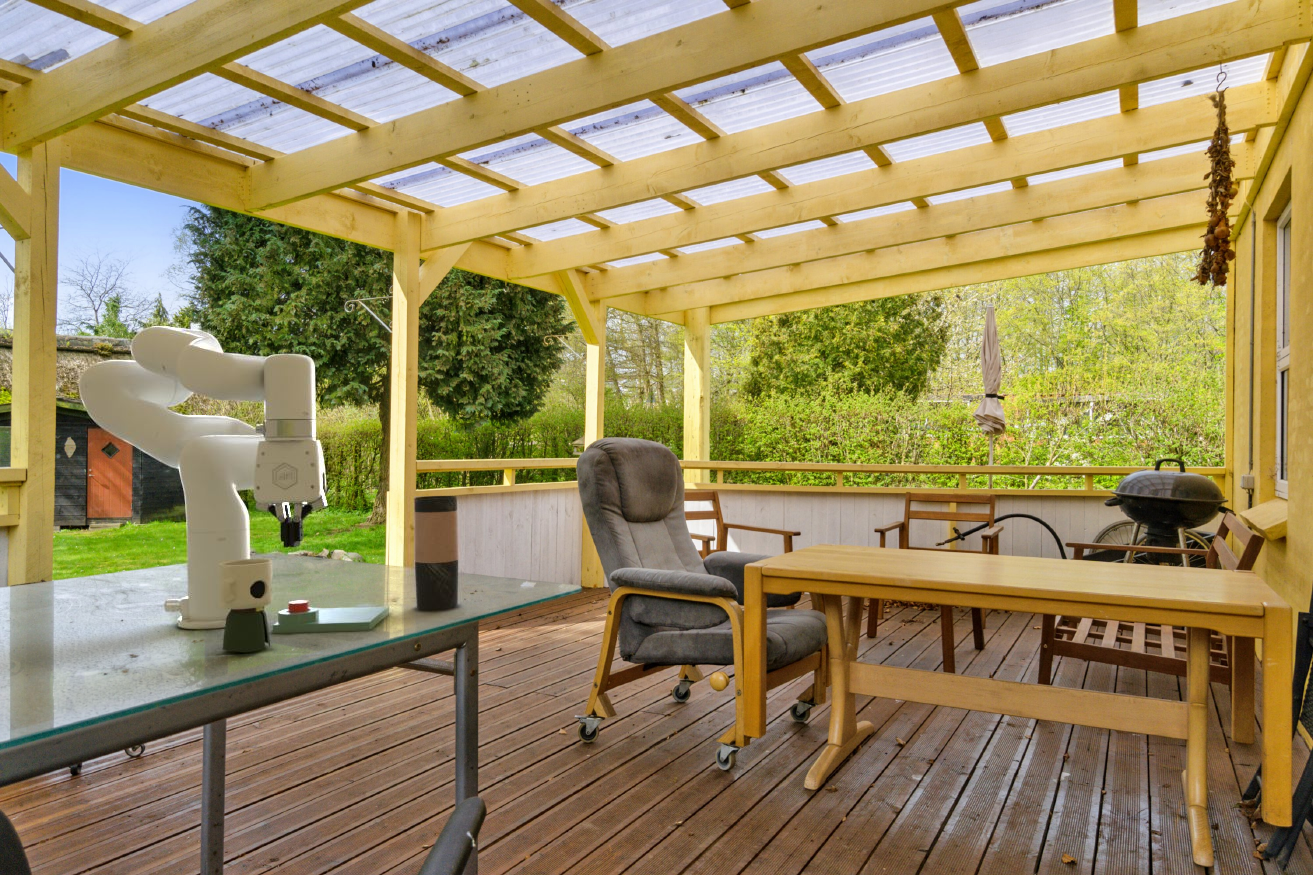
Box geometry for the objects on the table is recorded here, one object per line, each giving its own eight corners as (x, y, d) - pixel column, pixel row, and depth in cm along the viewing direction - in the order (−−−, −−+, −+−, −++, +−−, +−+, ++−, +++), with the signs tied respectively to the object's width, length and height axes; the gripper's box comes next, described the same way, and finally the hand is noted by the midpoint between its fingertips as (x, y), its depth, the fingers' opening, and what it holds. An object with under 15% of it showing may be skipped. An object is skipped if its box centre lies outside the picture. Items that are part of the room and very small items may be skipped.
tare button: (285, 614, 137) (285, 603, 137) (292, 610, 140) (292, 600, 140) (305, 614, 138) (304, 603, 138) (311, 610, 141) (311, 599, 141)
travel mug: (464, 603, 158) (463, 495, 158) (450, 612, 151) (449, 498, 151) (424, 603, 159) (423, 495, 159) (408, 612, 152) (407, 498, 152)
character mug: (249, 661, 119) (247, 567, 119) (200, 660, 119) (199, 567, 119) (289, 642, 130) (288, 556, 130) (244, 642, 130) (243, 556, 130)
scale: (272, 633, 136) (272, 614, 136) (300, 616, 149) (300, 599, 149) (369, 630, 137) (369, 611, 137) (389, 614, 150) (388, 597, 150)
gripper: (232, 432, 133) (234, 550, 133) (331, 431, 134) (333, 548, 134) (250, 432, 140) (252, 544, 140) (344, 431, 142) (346, 542, 142)
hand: (292, 546), depth 137 cm, fingers closed
